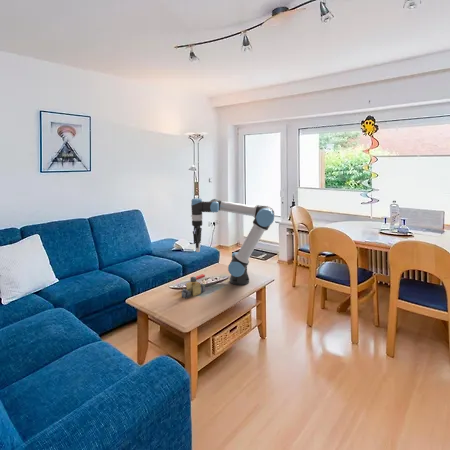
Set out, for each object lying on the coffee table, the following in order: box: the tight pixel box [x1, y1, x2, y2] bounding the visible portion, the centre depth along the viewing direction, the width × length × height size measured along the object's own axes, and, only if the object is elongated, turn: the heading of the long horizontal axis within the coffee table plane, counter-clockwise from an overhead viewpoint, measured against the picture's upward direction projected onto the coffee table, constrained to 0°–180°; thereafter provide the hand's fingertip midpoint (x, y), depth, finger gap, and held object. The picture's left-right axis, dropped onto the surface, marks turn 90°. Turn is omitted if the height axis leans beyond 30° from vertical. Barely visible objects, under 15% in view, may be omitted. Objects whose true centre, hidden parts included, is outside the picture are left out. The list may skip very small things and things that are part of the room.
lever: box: [189, 273, 206, 282], centre depth 223 cm, size 12×4×2 cm, turn 137°
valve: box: [181, 280, 206, 299], centre depth 222 cm, size 18×7×10 cm, turn 134°
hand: (197, 251), depth 232 cm, fingers closed
